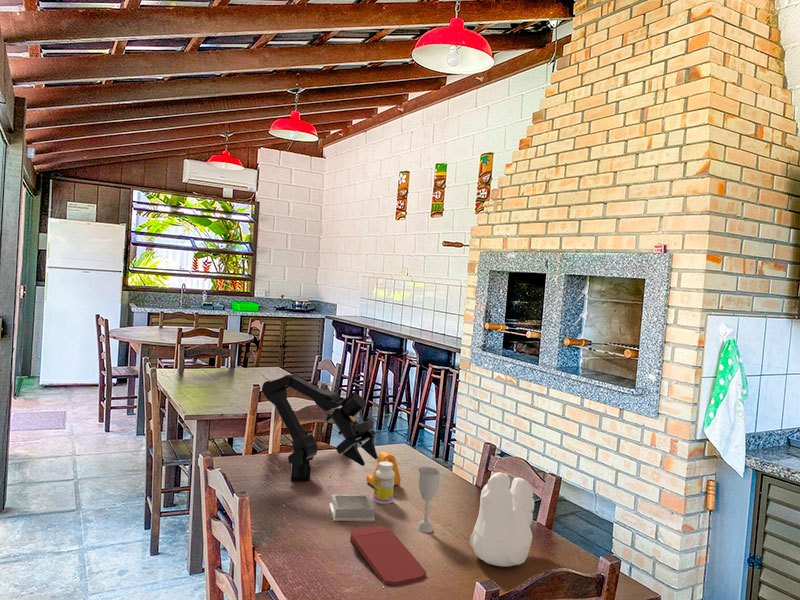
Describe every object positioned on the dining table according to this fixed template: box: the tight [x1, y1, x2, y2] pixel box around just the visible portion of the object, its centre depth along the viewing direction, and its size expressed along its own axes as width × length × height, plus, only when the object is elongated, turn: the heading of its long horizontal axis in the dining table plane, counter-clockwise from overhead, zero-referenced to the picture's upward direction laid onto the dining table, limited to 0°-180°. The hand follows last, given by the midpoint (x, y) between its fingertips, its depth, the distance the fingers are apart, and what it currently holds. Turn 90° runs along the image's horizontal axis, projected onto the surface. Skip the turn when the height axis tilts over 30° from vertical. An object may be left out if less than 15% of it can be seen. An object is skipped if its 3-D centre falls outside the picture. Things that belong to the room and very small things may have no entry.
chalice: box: [416, 466, 443, 533], centre depth 177 cm, size 7×7×18 cm
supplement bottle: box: [372, 461, 395, 505], centre depth 197 cm, size 7×7×13 cm
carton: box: [349, 525, 427, 586], centre depth 156 cm, size 12×5×25 cm
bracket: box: [366, 450, 402, 488], centre depth 213 cm, size 11×7×12 cm, turn 116°
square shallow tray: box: [328, 493, 376, 522], centre depth 185 cm, size 13×13×4 cm
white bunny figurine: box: [469, 471, 535, 567], centre depth 163 cm, size 25×16×25 cm, turn 126°
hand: (370, 461), depth 199 cm, fingers open, 9 cm apart
